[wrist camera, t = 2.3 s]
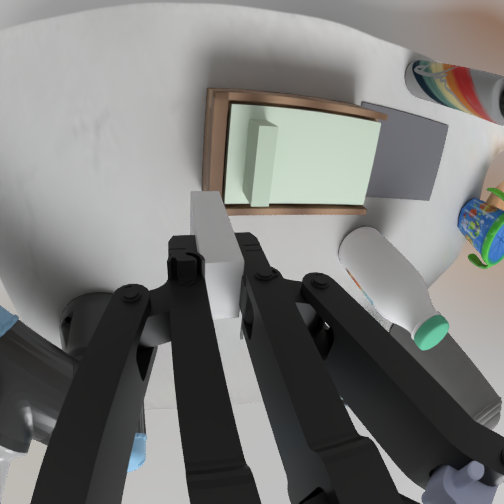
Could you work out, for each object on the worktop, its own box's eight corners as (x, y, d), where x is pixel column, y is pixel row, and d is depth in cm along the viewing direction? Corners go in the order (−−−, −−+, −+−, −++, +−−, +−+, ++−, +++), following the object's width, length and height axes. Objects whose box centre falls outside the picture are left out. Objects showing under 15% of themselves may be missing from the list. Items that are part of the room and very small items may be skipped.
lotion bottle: (410, 52, 31) (536, 76, 15) (436, 72, 33) (553, 105, 17) (398, 87, 34) (523, 126, 18) (425, 104, 36) (540, 150, 20)
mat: (343, 195, 41) (344, 195, 41) (361, 102, 34) (362, 102, 34) (428, 200, 45) (429, 200, 45) (447, 125, 39) (448, 126, 38)
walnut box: (201, 189, 36) (208, 216, 31) (207, 87, 30) (215, 91, 24) (338, 191, 41) (365, 214, 35) (354, 104, 34) (387, 114, 29)
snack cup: (470, 246, 55) (501, 273, 47) (441, 251, 53) (473, 282, 45) (492, 179, 47) (529, 202, 39) (463, 176, 45) (504, 201, 36)
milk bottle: (329, 244, 45) (405, 344, 29) (371, 215, 44) (459, 301, 28) (346, 275, 50) (413, 368, 33) (384, 249, 49) (460, 332, 32)
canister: (417, 336, 68) (490, 445, 40) (377, 348, 65) (451, 474, 37) (437, 297, 61) (527, 412, 33) (396, 307, 58) (491, 444, 30)
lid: (222, 199, 32) (230, 220, 28) (229, 102, 26) (239, 108, 23) (358, 200, 36) (379, 219, 32) (375, 120, 30) (401, 131, 27)
